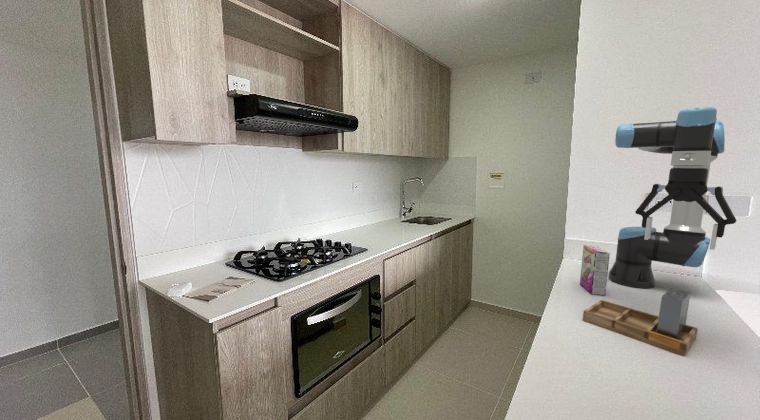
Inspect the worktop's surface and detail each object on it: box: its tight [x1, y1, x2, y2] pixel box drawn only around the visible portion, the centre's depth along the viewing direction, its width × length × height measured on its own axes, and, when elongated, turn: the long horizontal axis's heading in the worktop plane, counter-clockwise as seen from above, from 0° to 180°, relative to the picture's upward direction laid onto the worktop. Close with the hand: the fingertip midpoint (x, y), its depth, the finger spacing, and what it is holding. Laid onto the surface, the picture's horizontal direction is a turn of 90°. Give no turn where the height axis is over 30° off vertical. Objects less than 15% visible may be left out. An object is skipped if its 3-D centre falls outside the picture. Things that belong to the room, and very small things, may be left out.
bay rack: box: [582, 299, 698, 357], centre depth 93 cm, size 15×23×3 cm, turn 37°
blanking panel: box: [657, 287, 691, 340], centre depth 86 cm, size 10×4×12 cm, turn 127°
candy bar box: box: [579, 244, 611, 296], centre depth 122 cm, size 11×5×16 cm, turn 168°
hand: (677, 243), depth 90 cm, fingers open, 13 cm apart
